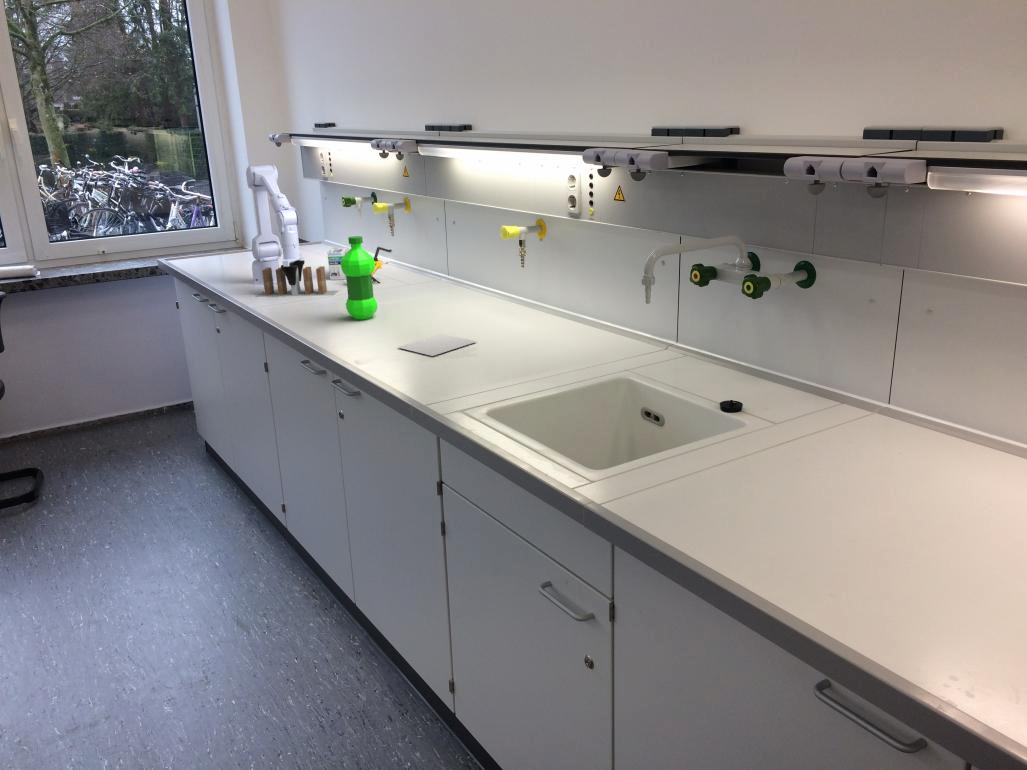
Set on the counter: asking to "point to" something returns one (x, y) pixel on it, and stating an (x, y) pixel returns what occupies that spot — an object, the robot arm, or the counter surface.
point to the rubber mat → (302, 293)
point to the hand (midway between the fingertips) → (295, 283)
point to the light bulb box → (336, 263)
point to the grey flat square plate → (437, 344)
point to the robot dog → (378, 261)
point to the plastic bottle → (359, 280)
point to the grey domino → (296, 287)
